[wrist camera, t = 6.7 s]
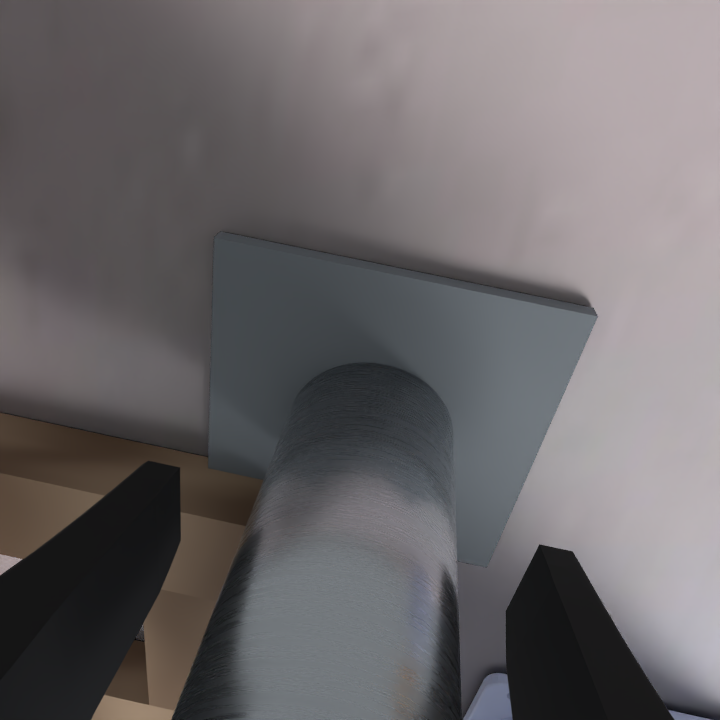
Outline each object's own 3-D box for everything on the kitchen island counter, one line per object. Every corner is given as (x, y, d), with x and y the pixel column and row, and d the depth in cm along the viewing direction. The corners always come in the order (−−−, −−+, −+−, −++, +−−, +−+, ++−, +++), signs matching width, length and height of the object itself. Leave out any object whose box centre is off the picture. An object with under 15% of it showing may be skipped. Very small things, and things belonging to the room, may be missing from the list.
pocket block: (284, 473, 15) (264, 530, 14) (254, 712, 22) (238, 769, 21) (-173, 375, 16) (-248, 419, 14) (-63, 641, 23) (-104, 692, 21)
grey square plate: (593, 307, 12) (597, 316, 11) (485, 556, 16) (486, 567, 16) (220, 231, 12) (213, 237, 12) (211, 496, 16) (206, 507, 16)
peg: (479, 392, 13) (522, 820, 6) (421, 510, 15) (404, 925, 8) (309, 340, 13) (154, 719, 6) (275, 467, 15) (132, 853, 8)
